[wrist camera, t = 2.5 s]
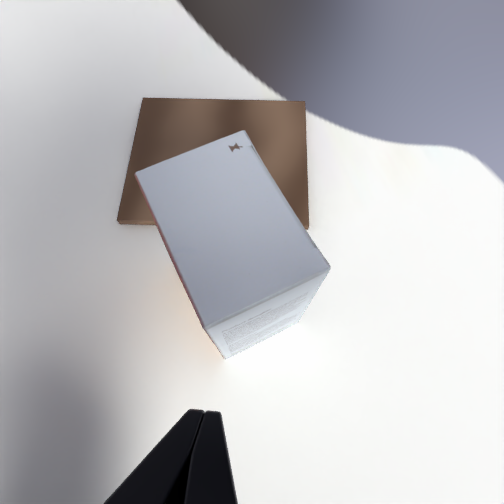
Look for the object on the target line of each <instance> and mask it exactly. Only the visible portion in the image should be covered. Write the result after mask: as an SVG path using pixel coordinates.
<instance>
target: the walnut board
mask: <svg viewBox="0 0 504 504" xmlns="http://www.w3.org/2000/svg"><path fill="white" fill-rule="evenodd" d="M242 130H244V131H246V133H247V135H248V137H249V138H250V140H251V142H252V144H253V146H254V148H255V150H256V151H257V153H258V155H259V156H260V158H261V160H262V161H263V163H264V165H265V166H266V168H267V170H268V171H269V173H270V174H271V176H272V178H273V179H274V181H275V182H276V184H277V186H278V187H279V189H280V190H281V192H282V194H283V195H284V197H285V198H286V200H287V202H288V203H289V205H290V206H291V208H292V209H293V211H294V213H295V214H296V216H297V217H298V219H299V220H300V222H301V224H302V225H303V227H304V228H305V229H308V227H309V209H308V177H307V145H306V113H305V101H267V100H222V99H177V98H143V100H142V104H141V109H140V114H139V118H138V123H137V128H136V133H135V137H134V142H133V147H132V151H131V156H130V161H129V165H128V170H127V175H126V179H125V184H124V189H123V193H122V198H121V203H120V207H119V212H118V217H117V221H118V222H119V224H139V225H156V223H155V221H154V219H153V217H152V214H151V212H150V210H149V207H148V205H147V203H146V200H145V198H144V196H143V194H142V191H141V189H140V187H139V185H138V182H137V180H136V178H135V176H134V175H135V173H136V172H137V171H140V170H143V169H145V168H147V167H150V166H152V165H155V164H157V163H160V162H162V161H165V160H167V159H170V158H172V157H175V156H178V155H180V154H183V153H185V152H188V151H190V150H193V149H195V148H198V147H201V146H203V145H206V144H208V143H211V142H213V141H216V140H218V139H221V138H224V137H226V136H229V135H232V134H234V133H237V132H239V131H242Z"/></svg>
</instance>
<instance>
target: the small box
mask: <svg viewBox="0 0 504 504" xmlns="http://www.w3.org/2000/svg"><path fill="white" fill-rule="evenodd" d="M134 176H135V178H136V180H137V182H138V185H139V187H140V189H141V191H142V194H143V196H144V198H145V200H146V203H147V205H148V207H149V210H150V212H151V214H152V217H153V219H154V221H155V223H156V226H157V228H158V230H159V233H160V235H161V237H162V240H163V242H164V244H165V247H166V249H167V251H168V253H169V256H170V258H171V260H172V262H173V264H174V267H175V269H176V271H177V273H178V275H179V278H180V280H181V282H182V284H183V286H184V288H185V291H186V293H187V295H188V297H189V299H190V301H191V303H192V305H193V307H194V310H195V312H196V314H197V316H198V318H199V320H200V323H201V325H202V327H203V329H204V330H205V331H206V333H207V334H208V336H209V337H210V339H211V340H212V342H213V343H214V344H215V345H216V347H217V349H218V350H219V352H220V353H221V354H222V356H223V358H224V359H227V358H229V357H232V356H234V355H236V354H238V353H240V352H242V351H244V350H246V349H248V348H250V347H252V346H254V345H255V344H257V343H259V342H261V341H263V340H265V339H267V338H269V337H271V336H273V335H275V334H277V333H279V332H281V331H283V330H285V329H287V328H288V327H290V326H292V325H294V324H296V323H298V322H299V320H300V318H301V317H302V315H303V313H304V312H305V310H306V308H307V307H308V305H309V304H310V302H311V300H312V299H313V297H314V295H315V294H316V292H317V290H318V289H319V287H320V285H321V284H322V282H323V280H324V279H325V277H326V276H327V274H328V272H329V270H330V265H329V263H328V262H327V260H326V259H325V258H324V256H323V255H322V253H321V252H320V250H319V249H318V248H317V246H316V245H315V243H314V242H313V240H312V239H311V237H310V236H309V234H308V233H307V231H306V230H305V228H304V227H303V225H302V224H301V222H300V220H299V219H298V217H297V216H296V214H295V213H294V211H293V209H292V208H291V206H290V205H289V203H288V202H287V200H286V198H285V197H284V195H283V194H282V192H281V190H280V189H279V187H278V186H277V184H276V182H275V181H274V179H273V178H272V176H271V174H270V173H269V171H268V170H267V168H266V166H265V165H264V163H263V161H262V160H261V158H260V156H259V155H258V153H257V151H256V150H255V148H254V146H253V144H252V142H251V140H250V138H249V137H248V135H247V133H246V131H244V130H242V131H239V132H237V133H234V134H232V135H229V136H226V137H224V138H221V139H218V140H216V141H213V142H211V143H208V144H206V145H203V146H201V147H198V148H195V149H193V150H190V151H188V152H185V153H183V154H180V155H178V156H175V157H172V158H170V159H167V160H165V161H162V162H160V163H157V164H155V165H152V166H150V167H147V168H145V169H143V170H140V171H137V172H136V173H135V175H134Z"/></svg>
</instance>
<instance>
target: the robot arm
mask: <svg viewBox="0 0 504 504" xmlns="http://www.w3.org/2000/svg"><path fill="white" fill-rule="evenodd" d="M104 504H238V502H237V497H236V491H235V486H234V480H233V475H232V470H231V464H230V459H229V453H228V448H227V442H226V437H225V432H224V426H223V421H222V415H221V413H220V412H218V411H206V412H204V411H203V410H197V409H189V410H188V411H187V412H186V413H185V414H184V415H183V416H182V417H181V419H180V420H179V421H178V422H177V423H176V424H175V425H174V426H173V427H172V428H171V430H170V431H169V432H168V433H167V434H166V435H165V436H164V437H163V438H162V440H161V441H160V442H159V443H158V444H157V445H156V446H155V447H154V448H153V450H152V451H151V452H150V453H149V454H148V455H147V456H146V457H145V458H144V459H143V461H142V462H141V463H140V464H139V465H138V466H137V467H136V468H135V469H134V471H133V472H132V473H131V474H130V475H129V476H128V477H127V478H126V479H125V480H124V482H123V483H122V484H121V485H120V486H119V487H118V488H117V489H116V490H115V492H114V493H113V494H112V495H111V496H110V497H109V498H108V499H107V500H106V501H105V503H104Z"/></svg>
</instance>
